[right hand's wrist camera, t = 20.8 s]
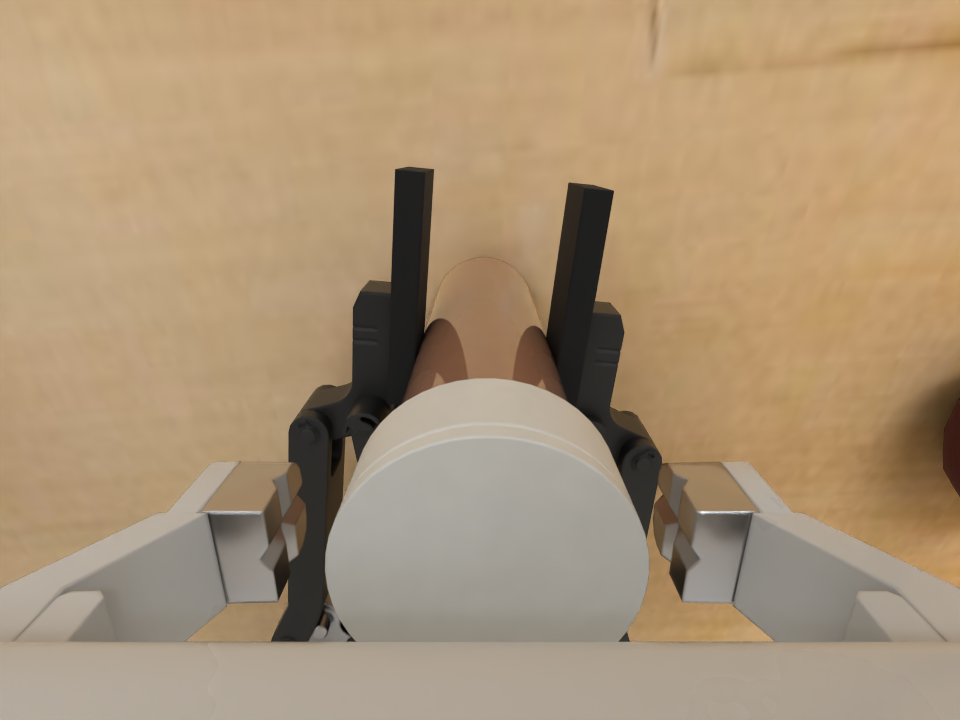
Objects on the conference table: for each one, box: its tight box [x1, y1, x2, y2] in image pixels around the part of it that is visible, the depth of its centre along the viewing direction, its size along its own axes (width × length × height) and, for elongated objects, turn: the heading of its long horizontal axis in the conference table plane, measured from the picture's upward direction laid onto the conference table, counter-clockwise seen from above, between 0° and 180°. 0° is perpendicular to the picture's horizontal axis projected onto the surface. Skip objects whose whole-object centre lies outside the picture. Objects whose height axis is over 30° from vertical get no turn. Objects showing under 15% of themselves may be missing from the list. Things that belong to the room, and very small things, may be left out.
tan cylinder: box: [401, 257, 569, 405], centre depth 16 cm, size 4×4×15 cm
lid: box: [325, 378, 649, 642], centre depth 9 cm, size 5×5×2 cm
